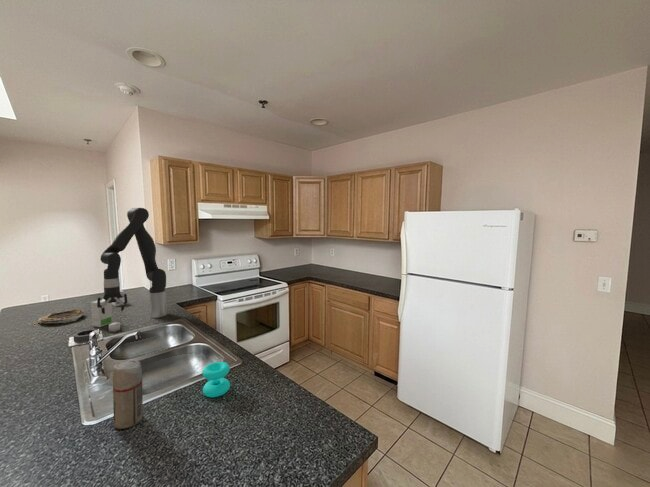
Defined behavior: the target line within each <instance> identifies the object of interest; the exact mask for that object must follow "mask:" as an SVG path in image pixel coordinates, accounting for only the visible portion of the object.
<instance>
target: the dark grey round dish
mask: <svg viewBox="0 0 650 487" xmlns="http://www.w3.org/2000/svg"><path fill="white" fill-rule="evenodd" d="M94 330H97V329H96V328H92V329H85V330H84V329H83V330H81V331H78V332H76V333H74V334H73V336H70V337H69V338H68V348H72V347H75V346H76V345H77V346H80V345H79V344H81V345H84V344H83V343H86V344H89V343H88V341H89V333H90V332H92V331H94ZM99 331H100V334H99V336H98V339H99V341H101V340H100V339H103V340H104V336H103V331H102V330H99Z"/></svg>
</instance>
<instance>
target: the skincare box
mask: <svg viewBox="0 0 650 487" xmlns="http://www.w3.org/2000/svg"><path fill="white" fill-rule="evenodd" d="M104 302H105V300H104V299H102V300H101V301H100V305H102V304H103V303H104ZM90 306H91V309H90V310H91V320H92V322H91V323H92V327H96V328H101V327H102V328H103V326H108V325H109V324H111V323H113V312H112V309H113V308H112V305H111V303H107V304H106V305H105V307H104V308H105V314H103V313H102V310H101V308H98V307H97V300H94V301H91V302H90Z"/></svg>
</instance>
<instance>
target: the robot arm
mask: <svg viewBox="0 0 650 487" xmlns="http://www.w3.org/2000/svg"><path fill="white" fill-rule="evenodd" d="M149 216H150V213H149V211H148V210H147V209H146V208H144V207H132V208H130V209H128V210H127V213H126V217H127V219H128V221H129V223H128V224H127V226H125V228H123V229H122V230H121V231H120V232H119V233H118V234H117V235H116V236H115V238H114V240H113V242H112V243H111V244H110V245H109V246H108V247H107V248H106V249H104V251H103V252H102V254H101V255H100V262H101V264H102V263H103V264H105V265H107V268H105V269H104V270H103V296H97V298H96V301H97V307H98V308H101V310H102V313H103V314H105V308H104V307H105V305H106V304H107V303H112V302H117V301H118V302H119V303H120V304H121V305H120V311H121V312H123V311H124V310H125V305H127V304H128V303H129V302H128V294H127V292H124V294H120V290H121V286H120V285H121V281H120V275H119V274H120V272H119V271H120V267H121V262H122V258H121V255H120V254H119V253H120V252H123V251H124V250H125V249H126V247H127V246H128V244H129V243H130V242H131V240H132V239H133V237H135V240H136V244H137V247H138V249H139V253H140V256H141V259H142V262H143V266H144V271H145V275H146V278H147V279H148V280H149V281H150V282H151V287H149V293H148V294H149V311H150V318H153V319H158V318H163V317H166V316H167V315H168V311H167V307H168V306H167V301H166V287H167V273H166V271H165V270H164V269H161V268H159V267H158V264H157V260H156V256H157V247H156V244H155V241H154V239H153V237H152V236H151V235H150V233H149V232H148V230H147V229H146V228H145V223H146V222H147V220H148V219H149ZM121 296H123V297H124V300H125V301H124V302H122V301H121V300H120V297H121ZM102 299H104V300H105V302H104V303H103V304H102V305H100V301H101V300H102Z"/></svg>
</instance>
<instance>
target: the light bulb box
mask: <svg viewBox="0 0 650 487" xmlns="http://www.w3.org/2000/svg"><path fill="white" fill-rule="evenodd" d="M124 293H125V291H124V290H121V289H120V294H124ZM120 300H121V301H122V302H124V301H125V300H124V297H123V296H121V297H120ZM111 306H114V307H119V306H121V304H120V303H119V302H118V301H117V302H112V303H111Z"/></svg>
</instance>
